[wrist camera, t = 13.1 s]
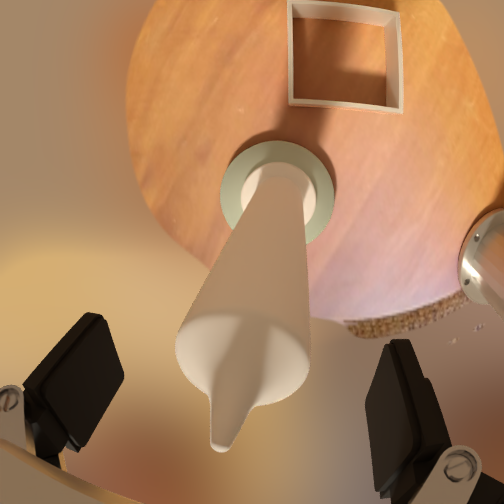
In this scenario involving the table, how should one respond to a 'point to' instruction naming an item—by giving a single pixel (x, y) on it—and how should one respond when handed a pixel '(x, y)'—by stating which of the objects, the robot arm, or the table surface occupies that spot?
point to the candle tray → (305, 7)
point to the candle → (254, 305)
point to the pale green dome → (278, 153)
